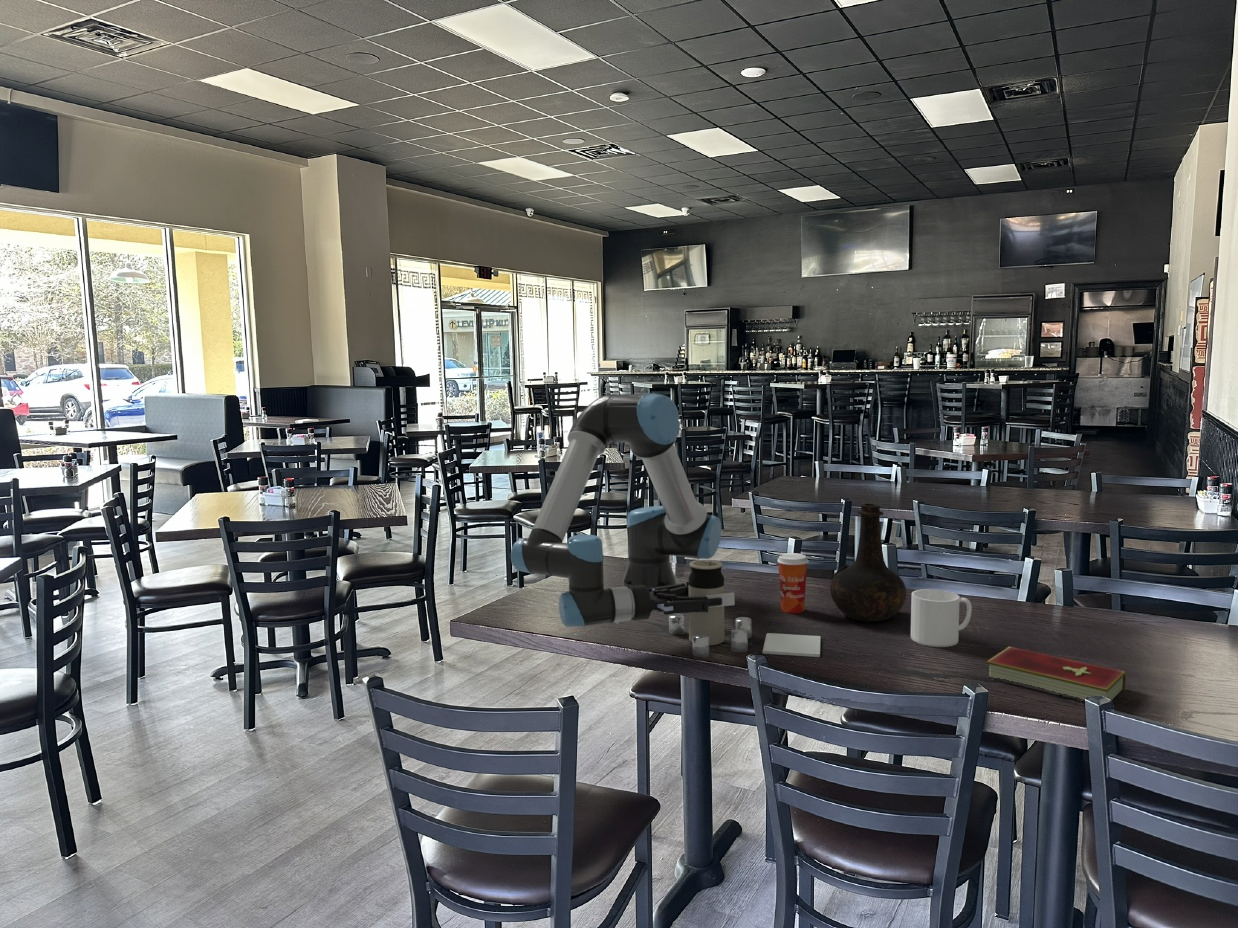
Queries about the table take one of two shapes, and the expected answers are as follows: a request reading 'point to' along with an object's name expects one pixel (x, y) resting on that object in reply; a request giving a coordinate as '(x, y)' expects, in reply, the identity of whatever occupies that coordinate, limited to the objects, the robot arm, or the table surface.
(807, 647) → the rubber mat
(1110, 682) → the hardcover book
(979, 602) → the table surface
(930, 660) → the table surface
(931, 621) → the mug
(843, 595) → the glass bottle
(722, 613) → the travel mug
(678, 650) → the table surface
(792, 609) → the paper cup
